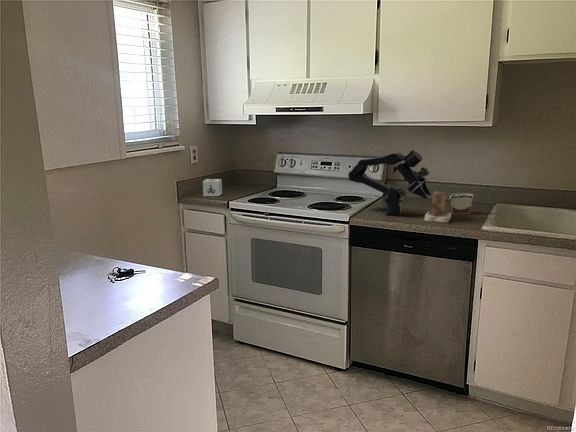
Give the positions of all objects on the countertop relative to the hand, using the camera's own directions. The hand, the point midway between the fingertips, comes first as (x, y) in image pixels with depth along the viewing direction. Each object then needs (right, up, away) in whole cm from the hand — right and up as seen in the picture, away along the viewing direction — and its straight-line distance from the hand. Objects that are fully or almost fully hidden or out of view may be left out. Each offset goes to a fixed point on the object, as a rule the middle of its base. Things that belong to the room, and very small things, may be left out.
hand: (428, 196), depth 235 cm
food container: (+20, -8, +13) cm, 25 cm away
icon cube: (-118, +3, +71) cm, 138 cm away
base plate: (+5, -11, 0) cm, 12 cm away
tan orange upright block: (+5, -9, 0) cm, 10 cm away
